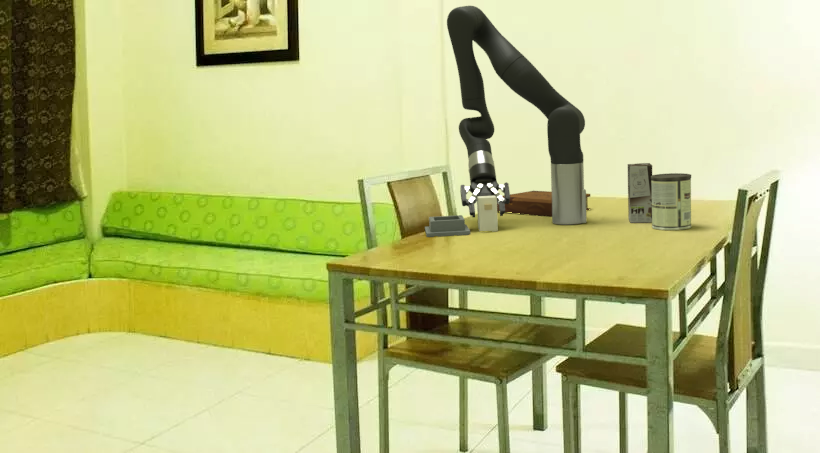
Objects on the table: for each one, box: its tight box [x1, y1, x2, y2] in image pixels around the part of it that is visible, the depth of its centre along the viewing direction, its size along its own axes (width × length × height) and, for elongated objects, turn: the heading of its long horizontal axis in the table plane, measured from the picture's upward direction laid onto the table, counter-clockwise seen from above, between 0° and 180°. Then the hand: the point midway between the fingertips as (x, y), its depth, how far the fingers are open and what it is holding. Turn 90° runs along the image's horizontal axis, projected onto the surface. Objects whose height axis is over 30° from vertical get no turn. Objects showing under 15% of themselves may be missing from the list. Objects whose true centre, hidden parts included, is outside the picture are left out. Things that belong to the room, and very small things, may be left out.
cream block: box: [476, 195, 499, 232], centre depth 239 cm, size 5×6×10 cm
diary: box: [497, 190, 591, 218], centre depth 273 cm, size 23×19×6 cm
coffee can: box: [651, 172, 692, 231], centre depth 228 cm, size 10×10×14 cm
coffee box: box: [627, 162, 653, 224], centre depth 243 cm, size 9×6×16 cm
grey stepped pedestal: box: [424, 214, 471, 238], centre depth 240 cm, size 12×13×4 cm
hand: (487, 214), depth 238 cm, fingers open, 7 cm apart
